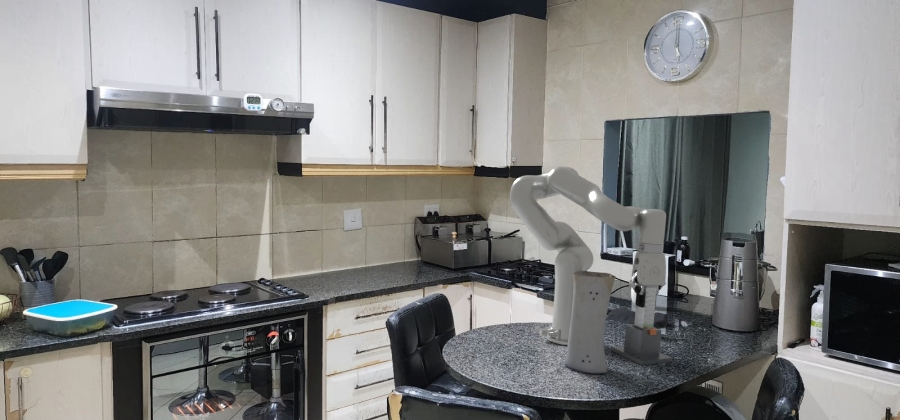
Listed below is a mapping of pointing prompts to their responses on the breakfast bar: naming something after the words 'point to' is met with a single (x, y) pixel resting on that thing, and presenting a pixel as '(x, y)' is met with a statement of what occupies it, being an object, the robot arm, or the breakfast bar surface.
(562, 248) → the robot arm
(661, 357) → the stand
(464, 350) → the breakfast bar surface
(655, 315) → the dark slate chunk
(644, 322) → the column
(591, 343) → the vase
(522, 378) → the breakfast bar surface
